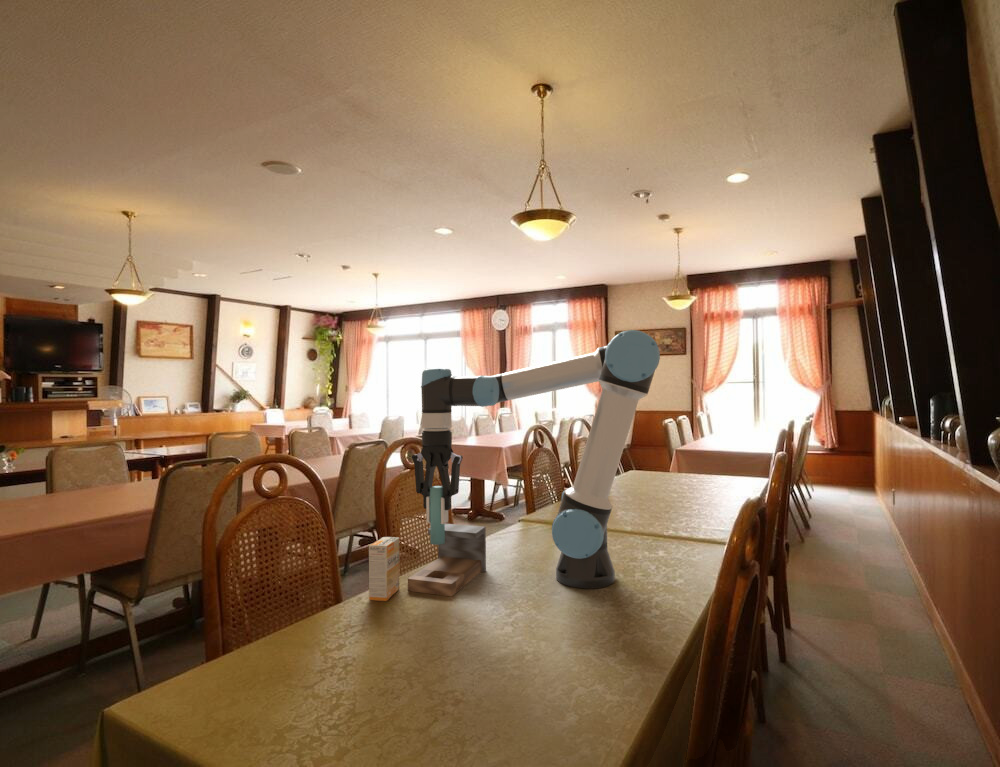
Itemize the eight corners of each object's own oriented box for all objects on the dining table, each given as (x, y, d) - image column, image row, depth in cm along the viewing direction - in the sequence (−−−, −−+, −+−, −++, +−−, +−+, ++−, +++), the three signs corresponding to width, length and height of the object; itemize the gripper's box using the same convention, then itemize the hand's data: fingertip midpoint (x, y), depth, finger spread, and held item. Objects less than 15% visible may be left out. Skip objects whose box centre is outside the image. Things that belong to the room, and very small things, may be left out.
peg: (447, 541, 139) (446, 486, 140) (440, 545, 136) (440, 488, 136) (434, 540, 141) (434, 485, 141) (427, 543, 137) (427, 488, 137)
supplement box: (387, 601, 129) (387, 546, 129) (368, 600, 130) (367, 545, 130) (400, 589, 137) (400, 536, 137) (382, 588, 138) (382, 535, 138)
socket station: (486, 570, 150) (485, 526, 150) (455, 596, 131) (455, 546, 131) (440, 565, 155) (439, 523, 155) (404, 590, 136) (403, 541, 136)
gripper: (472, 429, 139) (473, 521, 139) (415, 427, 145) (415, 516, 145) (460, 431, 132) (461, 528, 132) (400, 430, 138) (401, 523, 138)
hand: (437, 522), depth 138 cm, fingers closed on peg, 3 cm apart
